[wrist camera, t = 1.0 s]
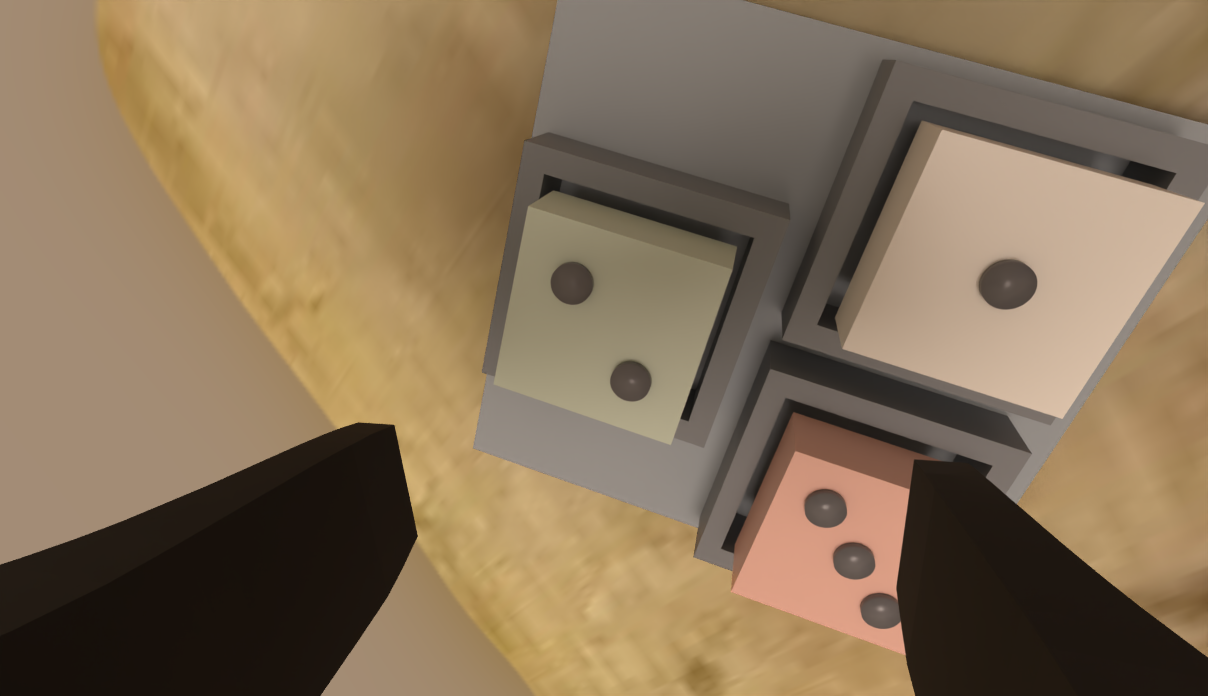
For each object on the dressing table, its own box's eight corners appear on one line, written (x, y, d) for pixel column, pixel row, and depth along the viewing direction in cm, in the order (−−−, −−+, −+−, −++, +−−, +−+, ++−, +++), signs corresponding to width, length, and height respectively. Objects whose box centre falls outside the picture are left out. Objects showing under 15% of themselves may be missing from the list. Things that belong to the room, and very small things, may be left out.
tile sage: (737, 246, 15) (732, 272, 13) (680, 408, 17) (669, 449, 15) (553, 190, 15) (524, 208, 14) (519, 353, 17) (490, 388, 16)
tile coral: (974, 471, 16) (999, 524, 14) (894, 600, 18) (907, 661, 16) (793, 411, 16) (795, 455, 15) (734, 544, 18) (730, 597, 16)
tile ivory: (1151, 184, 13) (1212, 205, 11) (1030, 378, 15) (1066, 424, 13) (921, 120, 13) (945, 130, 11) (834, 317, 15) (842, 352, 13)
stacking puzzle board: (1225, 132, 15) (1327, 150, 12) (933, 585, 21) (957, 663, 18) (580, -41, 16) (542, -59, 13) (487, 429, 22) (448, 480, 20)
